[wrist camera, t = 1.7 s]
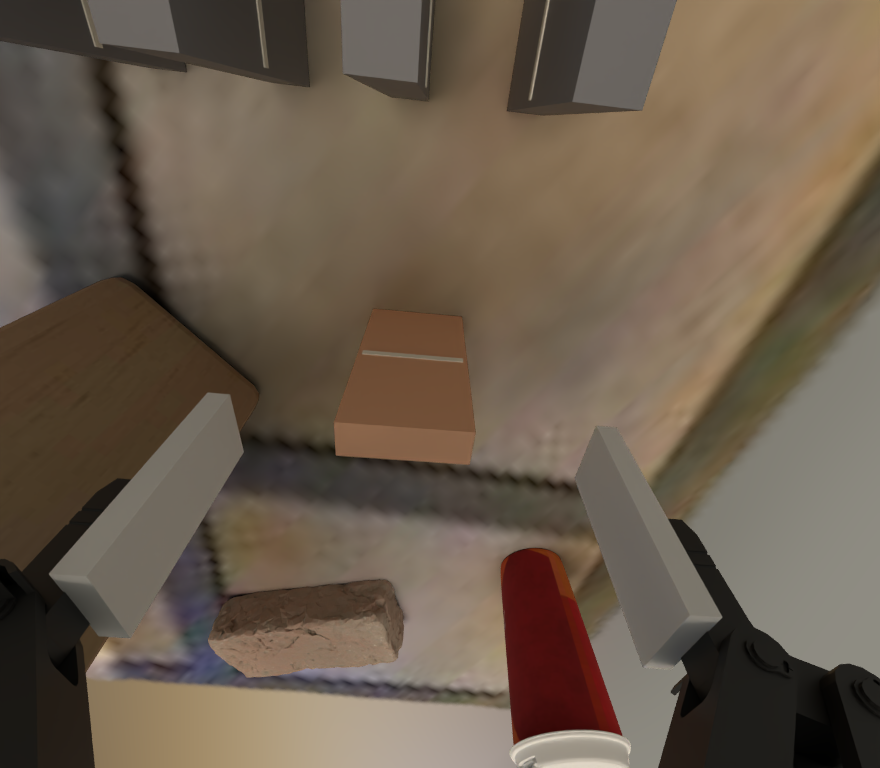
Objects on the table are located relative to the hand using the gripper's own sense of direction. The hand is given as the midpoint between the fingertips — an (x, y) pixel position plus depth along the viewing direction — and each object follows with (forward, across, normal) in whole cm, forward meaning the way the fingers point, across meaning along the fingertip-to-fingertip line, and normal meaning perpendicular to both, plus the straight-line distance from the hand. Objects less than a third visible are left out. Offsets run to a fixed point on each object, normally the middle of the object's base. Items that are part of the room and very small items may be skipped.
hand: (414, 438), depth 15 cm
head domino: (+10, 0, 0) cm, 10 cm away
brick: (+10, -8, -32) cm, 35 cm away
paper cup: (+10, +12, -23) cm, 28 cm away
